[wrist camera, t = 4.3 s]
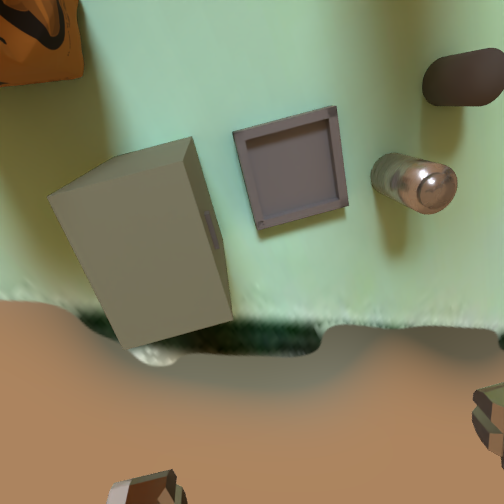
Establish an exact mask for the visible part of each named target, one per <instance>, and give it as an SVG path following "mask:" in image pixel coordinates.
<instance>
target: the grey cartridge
mask: <svg viewBox="0 0 504 504" xmlns="http://www.w3.org/2000/svg"><path fill="white" fill-rule="evenodd" d="M371 183H372V186H373V187H374V189H375V190H377V191H378V192H380V193H382V194H384V195H386V196H388V197H390V198H392V199H394V200H395V201H397V202H399V203H401V204H403V205H405V206H407V207H409V208H411V209H413V210H415V211H417V212H419V213H422V214H434V213H437V212H439V211H441V210H442V209H444V208H445V207H446V206H447V205H448V204H449V203H450V202H451V201H452V199H453V198H454V196H455V193H456V190H457V177H456V174H455V172H454V171H453V170H452V169H451V168H450V167H448V166H446V165H442V164H438V163H435V162H431V161H427V160H423V159H419V158H415V157H411V156H407V155H403V154H400V153H388V154H385V155H383V156H382V157H380V158H379V159H378V160H377V161H376V163H375V164H374V166H373V168H372V171H371Z"/></svg>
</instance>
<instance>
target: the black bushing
mask: <svg viewBox="0 0 504 504" xmlns="http://www.w3.org/2000/svg"><path fill="white" fill-rule="evenodd" d="M503 89H504V53H503V52H502V51H501V50H499V49H496V48H487V49H481V50H476V51H471V52H466V53H461V54H456V55H451V56H445V57H442V58H439V59H437V60H436V61H435V62H433V63H432V64H431V65H430V67H429V68H428V69H427V71H426V73H425V75H424V78H423V83H422V91H423V95H424V97H425V99H426V100H427V101H428V102H429V103H430V104H432V105H435V106H484V105H487V104H489V103H491V102H492V101H494V100H495V99H496V98H497V97H498V96H499V95H500V94H501V92H502V91H503Z"/></svg>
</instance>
